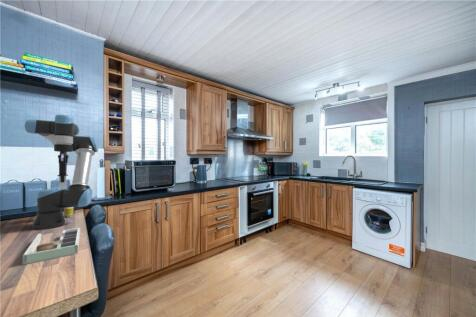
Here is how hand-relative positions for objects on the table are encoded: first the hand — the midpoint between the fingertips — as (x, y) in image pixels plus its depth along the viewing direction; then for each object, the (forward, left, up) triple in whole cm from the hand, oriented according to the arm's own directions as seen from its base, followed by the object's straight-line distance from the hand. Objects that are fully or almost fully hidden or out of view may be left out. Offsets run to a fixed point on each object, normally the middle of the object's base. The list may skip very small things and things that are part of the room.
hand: (62, 188), depth 106 cm
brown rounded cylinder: (+23, -3, -26) cm, 35 cm away
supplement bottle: (-50, 0, -26) cm, 57 cm away
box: (+15, 0, -26) cm, 30 cm away
